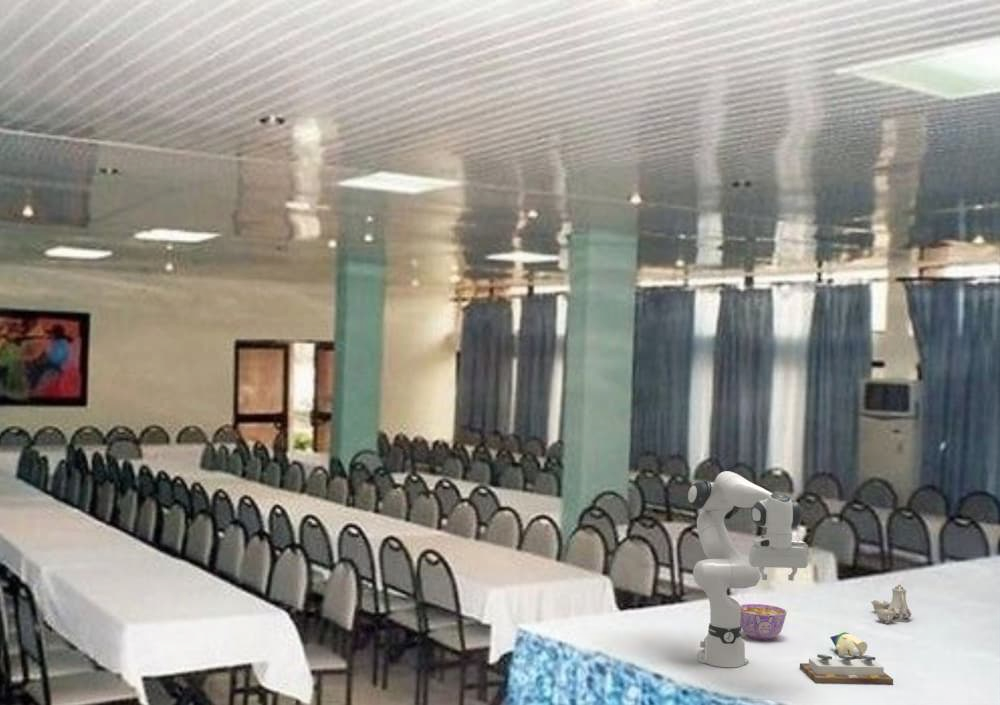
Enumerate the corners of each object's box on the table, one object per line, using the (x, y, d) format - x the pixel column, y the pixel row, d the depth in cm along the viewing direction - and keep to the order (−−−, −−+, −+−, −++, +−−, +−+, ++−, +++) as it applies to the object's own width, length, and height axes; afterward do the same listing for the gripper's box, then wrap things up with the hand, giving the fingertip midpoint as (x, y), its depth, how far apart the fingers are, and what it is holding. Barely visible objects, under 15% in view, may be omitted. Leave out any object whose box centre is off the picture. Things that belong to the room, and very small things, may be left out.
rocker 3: (860, 658, 410) (859, 654, 410) (868, 658, 410) (867, 655, 411) (867, 660, 403) (867, 656, 403) (875, 660, 403) (875, 657, 404)
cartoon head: (860, 669, 426) (824, 653, 445) (877, 654, 430) (841, 639, 448) (852, 651, 424) (816, 635, 442) (869, 636, 427) (833, 622, 446)
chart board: (799, 668, 415) (799, 662, 415) (873, 669, 416) (873, 664, 416) (815, 683, 397) (816, 677, 397) (893, 684, 398) (893, 678, 398)
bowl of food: (766, 646, 445) (767, 617, 444) (725, 635, 460) (726, 607, 460) (795, 639, 458) (796, 611, 458) (755, 628, 473) (756, 601, 473)
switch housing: (808, 666, 411) (809, 655, 411) (872, 667, 412) (873, 656, 412) (817, 674, 401) (818, 663, 401) (883, 675, 402) (883, 664, 402)
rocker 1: (817, 657, 409) (817, 654, 410) (825, 657, 410) (825, 654, 410) (823, 659, 402) (823, 656, 403) (831, 659, 403) (831, 656, 403)
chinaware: (867, 614, 514) (864, 578, 514) (904, 612, 512) (902, 576, 512) (879, 629, 486) (876, 591, 487) (918, 627, 484) (916, 589, 484)
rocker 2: (838, 657, 410) (838, 654, 410) (846, 657, 410) (846, 654, 410) (845, 659, 403) (845, 656, 403) (853, 659, 403) (853, 656, 403)
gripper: (805, 539, 397) (804, 578, 397) (748, 538, 396) (747, 577, 397) (811, 543, 391) (809, 582, 391) (753, 541, 390) (751, 581, 390)
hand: (777, 579), depth 394 cm, fingers open, 8 cm apart
